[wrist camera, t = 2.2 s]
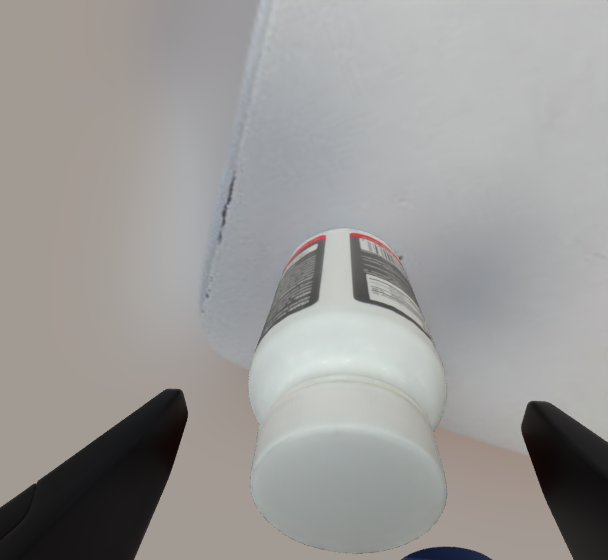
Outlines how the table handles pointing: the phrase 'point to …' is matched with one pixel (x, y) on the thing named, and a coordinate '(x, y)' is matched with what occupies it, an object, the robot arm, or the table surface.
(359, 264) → the pill bottle
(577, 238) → the table surface
